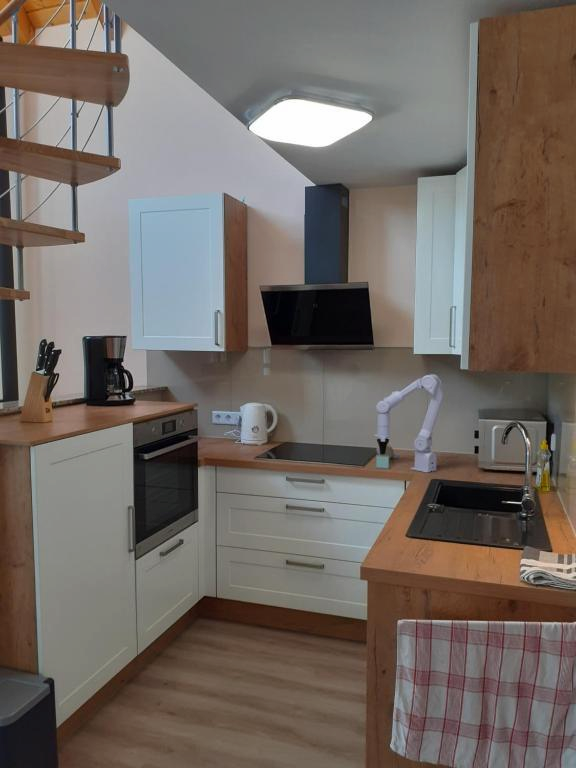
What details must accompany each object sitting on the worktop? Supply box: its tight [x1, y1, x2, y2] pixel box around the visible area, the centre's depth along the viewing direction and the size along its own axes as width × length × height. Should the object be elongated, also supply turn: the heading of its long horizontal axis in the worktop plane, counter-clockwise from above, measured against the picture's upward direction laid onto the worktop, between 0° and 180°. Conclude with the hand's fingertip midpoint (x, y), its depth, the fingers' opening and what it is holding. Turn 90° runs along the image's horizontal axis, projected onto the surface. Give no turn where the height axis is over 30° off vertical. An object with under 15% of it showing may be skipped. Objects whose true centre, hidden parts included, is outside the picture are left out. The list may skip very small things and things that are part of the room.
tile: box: [375, 454, 390, 470], centre depth 280 cm, size 2×6×6 cm, turn 81°
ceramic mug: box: [376, 443, 400, 460], centre depth 304 cm, size 11×8×8 cm
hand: (382, 454), depth 286 cm, fingers closed
